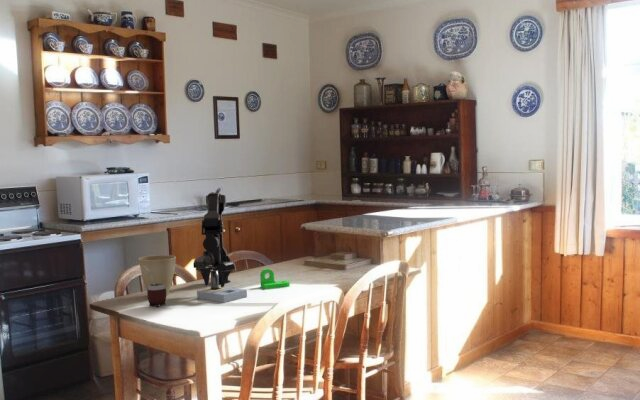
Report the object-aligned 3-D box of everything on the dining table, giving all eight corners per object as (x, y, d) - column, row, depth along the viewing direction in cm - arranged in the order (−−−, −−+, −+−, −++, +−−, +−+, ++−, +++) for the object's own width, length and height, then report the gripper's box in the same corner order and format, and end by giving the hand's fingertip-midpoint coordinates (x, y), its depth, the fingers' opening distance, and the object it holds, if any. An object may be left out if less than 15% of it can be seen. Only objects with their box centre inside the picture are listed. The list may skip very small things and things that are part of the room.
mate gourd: (167, 306, 250) (165, 267, 249) (145, 308, 248) (143, 269, 247) (166, 302, 257) (164, 264, 256) (145, 304, 255) (143, 266, 254)
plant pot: (158, 301, 260) (156, 261, 259) (132, 297, 268) (130, 259, 267) (185, 293, 273) (183, 255, 272) (159, 291, 281) (158, 254, 280)
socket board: (197, 298, 263) (196, 290, 263) (219, 292, 272) (219, 285, 272) (224, 302, 253) (224, 294, 253) (246, 297, 262) (246, 289, 262)
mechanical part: (265, 290, 277) (264, 271, 276) (260, 287, 282) (260, 269, 282) (291, 287, 281) (291, 268, 281) (286, 284, 287) (286, 266, 286)
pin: (209, 295, 265) (208, 270, 264) (215, 294, 267) (214, 269, 267) (214, 296, 263) (214, 271, 262) (220, 295, 265) (220, 270, 265)
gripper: (182, 249, 264) (183, 287, 265) (213, 252, 252) (215, 292, 253) (203, 245, 272) (205, 282, 273) (234, 248, 261) (236, 287, 262)
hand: (214, 286), depth 265 cm, fingers open, 9 cm apart
